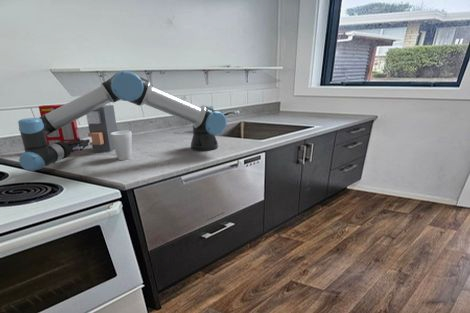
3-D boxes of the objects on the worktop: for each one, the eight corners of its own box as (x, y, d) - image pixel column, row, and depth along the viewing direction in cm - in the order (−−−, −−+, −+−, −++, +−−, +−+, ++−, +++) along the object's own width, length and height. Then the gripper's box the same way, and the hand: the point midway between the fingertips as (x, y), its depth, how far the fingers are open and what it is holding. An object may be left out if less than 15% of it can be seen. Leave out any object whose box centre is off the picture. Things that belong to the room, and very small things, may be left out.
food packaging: (81, 147, 155) (73, 104, 147) (79, 150, 150) (70, 105, 143) (52, 150, 151) (42, 105, 144) (49, 152, 146) (38, 106, 139)
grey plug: (98, 123, 138) (96, 111, 136) (87, 123, 139) (85, 112, 137) (111, 119, 150) (110, 108, 149) (101, 119, 151) (99, 109, 149)
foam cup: (118, 155, 137) (114, 131, 134) (136, 155, 138) (133, 130, 134) (111, 161, 128) (107, 135, 125) (131, 160, 129) (127, 134, 125)
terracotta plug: (100, 144, 140) (98, 133, 138) (89, 144, 141) (87, 133, 139) (113, 139, 152) (111, 128, 150) (103, 139, 153) (101, 128, 151)
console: (110, 151, 146) (103, 107, 139) (93, 151, 147) (85, 107, 140) (119, 146, 155) (113, 105, 148) (103, 146, 156) (96, 105, 149)
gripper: (44, 159, 116) (79, 146, 138) (73, 160, 115) (103, 146, 137) (40, 143, 114) (77, 132, 136) (69, 143, 113) (101, 132, 135)
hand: (90, 139), depth 137 cm, fingers closed
